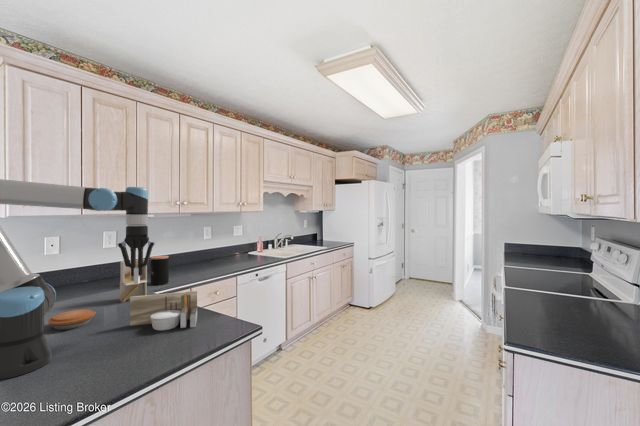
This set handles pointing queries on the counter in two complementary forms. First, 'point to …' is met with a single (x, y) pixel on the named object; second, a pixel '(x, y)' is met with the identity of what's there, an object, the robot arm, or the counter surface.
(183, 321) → the gauge sled
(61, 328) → the pie
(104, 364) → the counter surface
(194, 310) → the white striped block
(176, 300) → the scale board
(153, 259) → the coffee jar
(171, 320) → the ramekin
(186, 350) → the counter surface
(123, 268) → the staircase
